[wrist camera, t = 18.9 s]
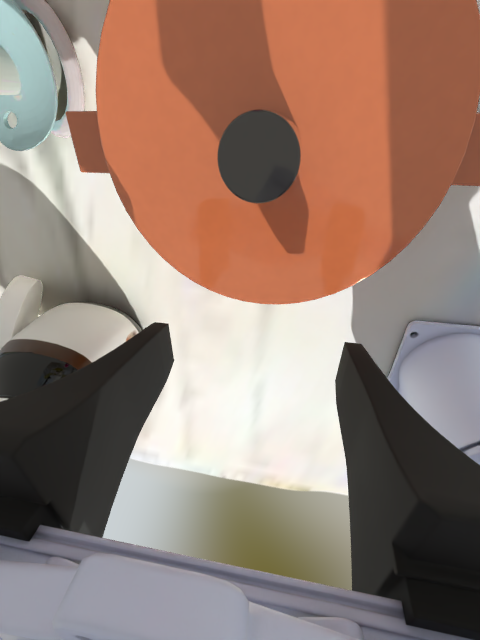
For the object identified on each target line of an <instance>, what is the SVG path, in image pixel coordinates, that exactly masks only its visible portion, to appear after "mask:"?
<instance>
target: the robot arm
mask: <svg viewBox="0 0 480 640" xmlns="http://www.w3.org/2000/svg"><path fill="white" fill-rule="evenodd" d="M412 332H416V333H415V334H413V335H411V333H412ZM173 362H174V358H173V351H172V345H171V338H170V332H169V325H168V324H165V323H156V322H154V323H153V324H151V325H150V326H148V327H147V328H145V329H144V330H142V331H141V332H139V333H138V334H136V335H135V336H133V337H132V338H130V339H129V340H127V341H126V342H124V343H123V344H121V345H120V346H118V347H117V348H115V349H114V350H112V351H110V352H109V353H107V354H106V355H104V356H102V357H101V358H99V359H97V360H96V361H94V362H92V363H91V364H89V365H87V366H85V367H83V368H81V369H79V370H77V371H75V372H73V373H71V374H69V375H67V376H65V377H63V378H61V379H58V380H56V381H54V382H51V383H49V384H47V385H44V386H42V387H40V388H37V389H35V390H32V391H29V392H27V393H24V394H21V395H18V396H15V397H13V398H10V399H7V400H4V401H1V402H0V640H480V326H470V325H459V324H448V323H437V322H426V321H412V322H411V323H409V324H408V326H407V329H406V331H405V334H404V337H403V339H402V342H401V345H400V347H399V350H398V353H397V355H396V358H395V360H394V363H393V366H392V368H391V371H390V374H389V376H388V379H387V378H386V376H385V375H384V374H383V373H382V371H381V370H380V369H379V367H378V366H377V365H376V363H375V362H374V361H373V359H372V358H371V356H370V355H369V354H368V352H367V351H366V350H365V348H364V347H363V346H362V344H357V343H348V342H345V344H344V348H343V352H342V356H341V360H340V364H339V368H338V372H337V376H336V380H335V382H336V404H337V410H338V416H339V422H340V428H341V434H342V440H343V445H344V451H345V457H346V465H347V477H348V492H349V508H350V509H349V510H350V531H351V558H352V591H351V590H346V589H342V588H337V587H332V586H328V585H323V584H318V583H314V582H309V581H304V580H299V579H295V578H290V577H285V576H280V575H275V574H271V573H266V572H261V571H257V570H252V569H247V568H242V567H238V566H233V565H228V564H223V563H219V562H214V561H209V560H204V559H200V558H195V557H190V556H186V555H181V554H176V553H171V552H167V551H162V550H157V549H152V548H147V547H143V546H138V545H133V544H129V543H124V542H119V541H115V540H110V539H105V538H102V537H103V534H104V530H105V527H106V524H107V521H108V518H109V515H110V511H111V508H112V505H113V502H114V499H115V496H116V494H117V491H118V488H119V485H120V482H121V479H122V477H123V474H124V471H125V469H126V466H127V463H128V460H129V458H130V455H131V453H132V450H133V448H134V445H135V443H136V440H137V438H138V436H139V433H140V431H141V429H142V427H143V425H144V423H145V421H146V419H147V417H148V416H149V414H150V412H151V410H152V408H153V406H154V404H155V402H156V401H157V399H158V397H159V395H160V393H161V391H162V389H163V387H164V385H165V383H166V381H167V379H168V376H169V373H170V371H171V368H172V365H173Z"/></svg>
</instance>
